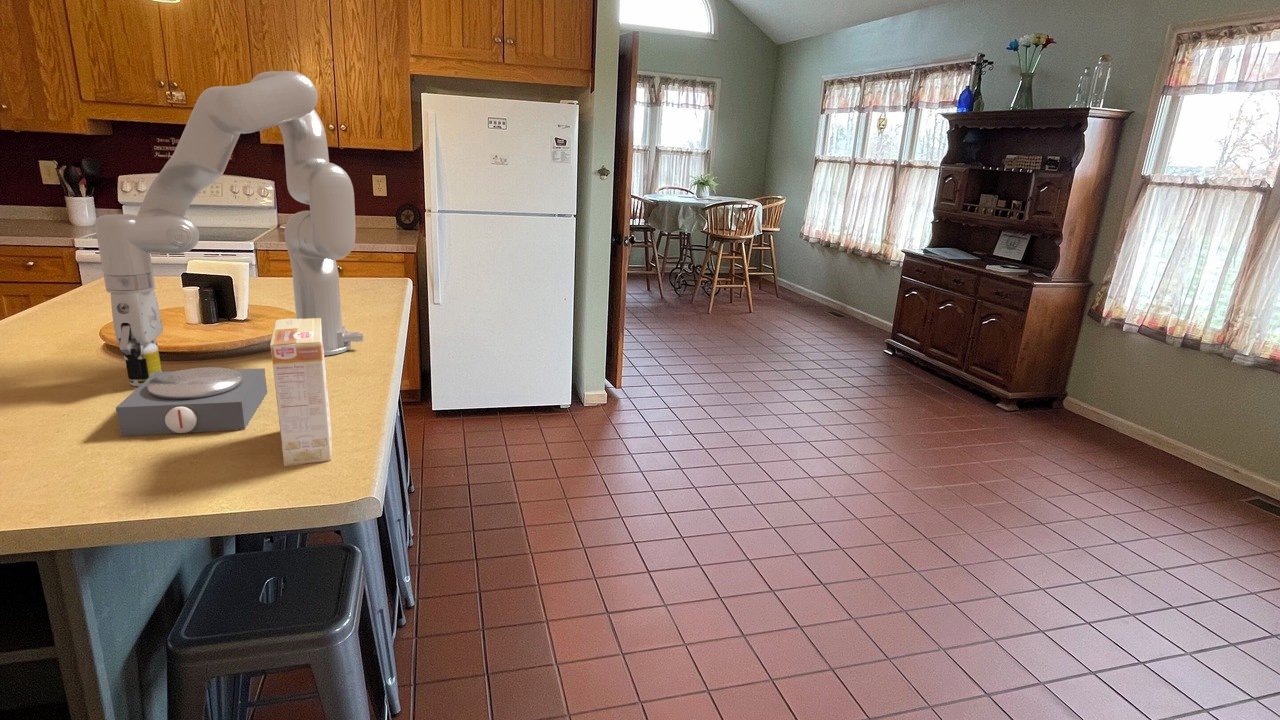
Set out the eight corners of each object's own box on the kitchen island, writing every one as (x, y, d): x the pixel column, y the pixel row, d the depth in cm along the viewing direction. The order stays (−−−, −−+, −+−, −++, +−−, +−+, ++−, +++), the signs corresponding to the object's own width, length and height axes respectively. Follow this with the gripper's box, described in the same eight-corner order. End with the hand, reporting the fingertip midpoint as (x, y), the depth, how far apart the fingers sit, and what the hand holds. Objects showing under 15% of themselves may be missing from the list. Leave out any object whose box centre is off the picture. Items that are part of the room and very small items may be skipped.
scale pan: (250, 371, 131) (249, 366, 130) (231, 397, 118) (230, 391, 118) (164, 373, 127) (163, 368, 126) (134, 401, 114) (133, 395, 114)
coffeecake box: (286, 429, 119) (274, 318, 113) (331, 425, 122) (322, 316, 116) (281, 467, 106) (268, 344, 100) (332, 461, 109) (322, 341, 103)
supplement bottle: (169, 379, 139) (162, 331, 136) (148, 388, 134) (140, 339, 131) (144, 377, 139) (136, 329, 136) (122, 386, 134) (113, 336, 131)
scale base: (267, 392, 135) (264, 368, 133) (243, 431, 117) (240, 404, 116) (159, 397, 130) (155, 371, 128) (118, 438, 112) (113, 409, 111)
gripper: (135, 291, 124) (151, 387, 129) (168, 273, 139) (181, 360, 145) (85, 291, 122) (103, 389, 127) (124, 273, 137) (139, 361, 143)
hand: (144, 372), depth 136 cm, fingers closed on supplement bottle, 5 cm apart
